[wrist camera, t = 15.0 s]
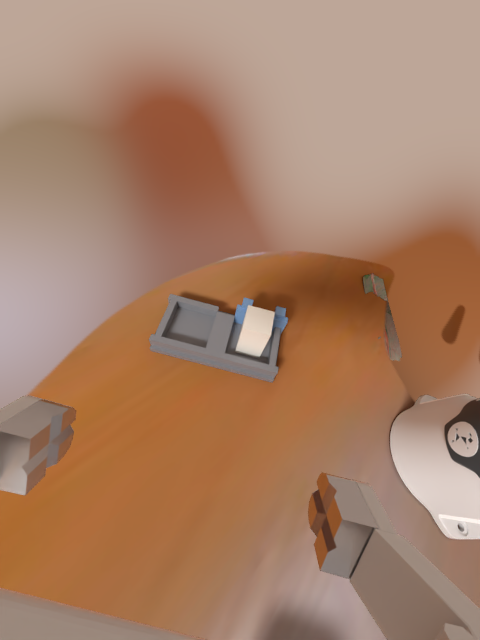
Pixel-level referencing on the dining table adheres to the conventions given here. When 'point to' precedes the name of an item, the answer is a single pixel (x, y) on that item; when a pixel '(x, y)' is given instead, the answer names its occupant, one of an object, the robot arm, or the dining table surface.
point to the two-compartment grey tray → (215, 337)
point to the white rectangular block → (255, 331)
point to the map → (390, 332)
